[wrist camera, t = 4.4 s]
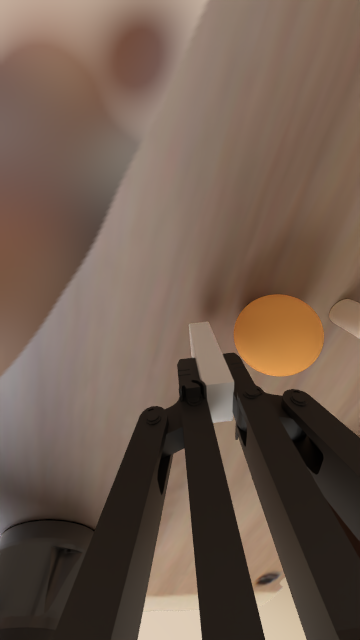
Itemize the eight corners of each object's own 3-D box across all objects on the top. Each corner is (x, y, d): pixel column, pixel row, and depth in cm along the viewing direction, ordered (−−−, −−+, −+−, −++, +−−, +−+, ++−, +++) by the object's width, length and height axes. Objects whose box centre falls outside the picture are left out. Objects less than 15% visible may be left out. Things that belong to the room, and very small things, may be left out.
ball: (310, 408, 13) (322, 355, 17) (325, 323, 10) (334, 285, 15) (222, 377, 17) (250, 340, 21) (217, 309, 14) (249, 281, 18)
